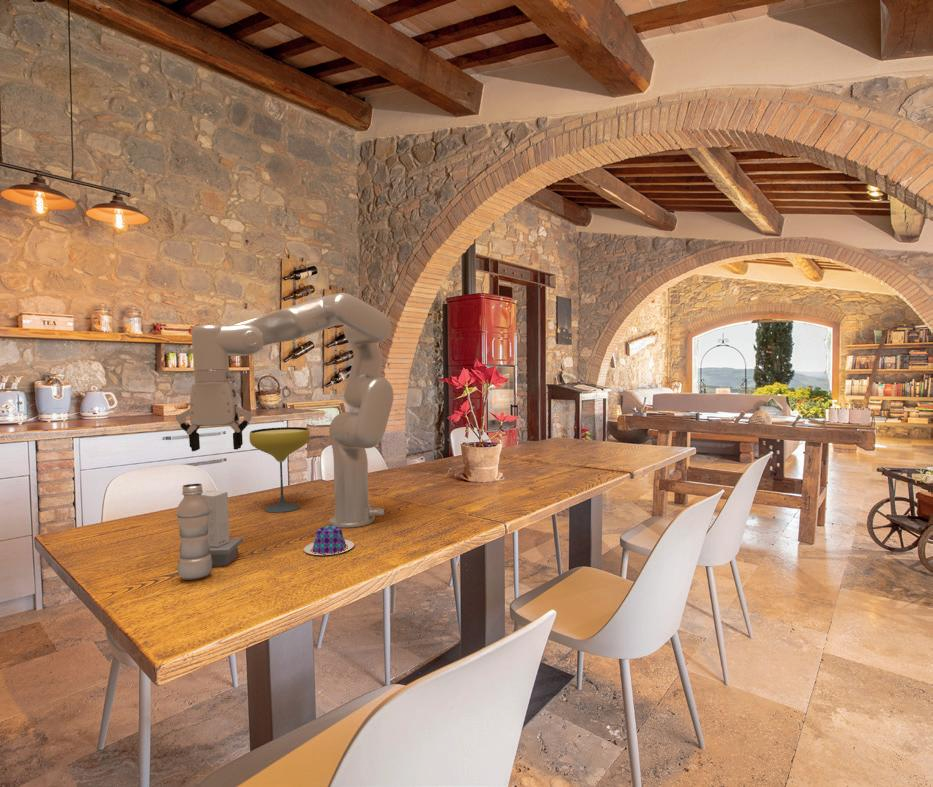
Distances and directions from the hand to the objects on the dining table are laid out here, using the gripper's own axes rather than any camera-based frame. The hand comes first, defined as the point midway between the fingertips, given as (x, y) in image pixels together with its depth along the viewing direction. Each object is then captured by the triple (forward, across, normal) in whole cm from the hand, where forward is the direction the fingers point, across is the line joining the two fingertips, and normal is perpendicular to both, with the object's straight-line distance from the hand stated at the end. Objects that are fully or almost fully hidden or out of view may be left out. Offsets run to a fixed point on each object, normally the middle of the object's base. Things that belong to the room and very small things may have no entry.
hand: (216, 449), depth 131 cm
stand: (+25, 0, +5) cm, 26 cm away
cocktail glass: (+26, -3, -43) cm, 50 cm away
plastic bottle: (+25, 0, +15) cm, 29 cm away
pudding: (+26, -25, -1) cm, 36 cm away
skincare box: (+22, 0, +5) cm, 22 cm away
